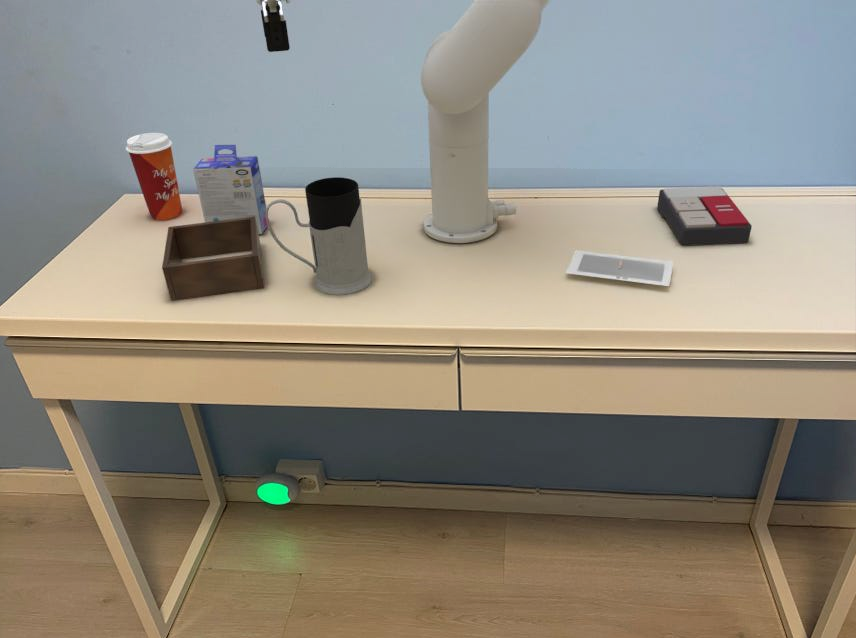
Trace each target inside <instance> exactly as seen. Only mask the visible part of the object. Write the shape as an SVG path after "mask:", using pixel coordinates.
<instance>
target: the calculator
mask: <svg viewBox="0 0 856 638" xmlns="http://www.w3.org/2000/svg"><path fill="white" fill-rule="evenodd" d="M657 200H658V201H657V206H656V209H657V211H658V212H659V214H660V216H661V218H664V219H665V220H666V223H667V224H668V226H669V227H670V229H671V231H672V232H673V234H674V236H675V237H676V239H677V241H678V242H679V244H680V245H681V246H684V247H685V246H707V245H727V244H728V245H729V244H730V245H732V244H747V243H749V240H750V236H751V232H752V227H753V226H752V225H751V223H750V222H749V220H748V219H747V218H746V216H745V215H744V213H743V212H742V211H741V210H740V209H739V207H738V206H737V205H736V203H735V202H734V201H733V199H732V198H731V196H729V195H728V193H727V192H726V191H725V190H724V189H723V188H722V187H721V186H717V185H715V186H693V187H671V188H670V187H669V188H663V189H660V190H659V193H658V199H657Z"/></svg>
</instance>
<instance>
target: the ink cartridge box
mask: <svg viewBox="0 0 856 638" xmlns="http://www.w3.org/2000/svg"><path fill="white" fill-rule="evenodd" d="M222 150H229V151H231V152H232V153H219V151H222ZM213 154H214V155H213V157H212V158H209V157H208V158H201V159H200V160H199V161H198V162H197V164H196V165H195V166H194V167H193V169H192V170H193V174H194V175H193V176H194V179H195V183H196V188H197V193H198V198H199V201H200V206H201V210H202V215H203V219H204V223H205V222H213V221H222V220H230V219H238V218H246V217H254V216H255V219H256V224H257V229H258V234H259V235H263V234H264V232H265V230H266V229H267V228H268V226H267V222H266V209H267V203H266V197H265V192H264V186H263V179H262V175H261V169H260V164H259V157H258V156H257V155H251V156H250V155H249V156H238V155H237V145H236V144H215V145H214V153H213Z"/></svg>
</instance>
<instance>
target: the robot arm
mask: <svg viewBox="0 0 856 638" xmlns="http://www.w3.org/2000/svg"><path fill="white" fill-rule="evenodd" d="M255 1H256V3H257V4H258V5H259V6H261V9H260V15H261V21H262V27H263V33H264V37H265V42H266V49H267V52H269V53H273V52H274V53H275V52H286V51H290V50H291V49H290V48H291V47H290V40H289V34H288V26H287V20H286V19H285V16H284V10H283V3H282V2H283V1H282V0H255ZM291 1H292V0H285V3H286V4H288V5H289V4H290V3H291ZM550 2H551V0H473V1H472V2H471V4H470V6H469V7H468V8H467V9H466V10H465V12H464V13H463V14H462V15H461V16H460V18H459V19H458V21H457V22H456V23H455V24H454V26H453V27H452V28H451V29H447V30H445V31H443V32H442V33H440V34H439V35H438V36H436V37H435V38H434V40H433V41H432V43H431V44H430V45H429V47H428V49H427V52H426V55H425V58H424V61H423V64H422V69H421V73H420V84H421V90H422V92H423V95H424V97H425V99H426V100H427V110H428V111H427V118H428V120H427V121H428V148H429V170H430V171H429V172H430V173H429V174H430V196H431V213H430V214H429V215H428V216H427V217H426V218H425V219H424V221H423V230H424V233H425V234H426V236H428V237H429V238H432V239H433V240H437V241H439V242H444V243H450V244H467V243H475V242H478V241H482V240H485V239H487V238H489V237H491V236H492V235H494V233H496V231H497V230H498V220H497V219H499V217H500V216H501V217H502V216H512V215H516V214H517V206H516V203H515V202H511V203H505V200H504V199H498V200H495V201H491V200H490V199H489V136H490V135H489V132H490V130H489V125H490V123H489V120H490V119H489V117H490V115H489V113H490V112H489V111H490V110H489V109H490V108H489V107H490V106H489V103H490V100H489V99H490V96H489V95H490V92H491V91H492V90H493V89H494V88H495V86H496V85H497V84H498V83H499V82H500V81H501V80H502V79H503V78H504V76H506V75H507V73H508V72H509V71H510V70H511V69H512V68H513V66H514V65H515V64H516V63H517V62H518V61H519V60H520V58H521V57H522V56H523V55H524V54H525V52H526V51H527V50H528V49H529V47H530V46H531V44H532V43H533V42H534V40H535V38H536V37H537V34H538V32H539V30H540V28H541V23H542V15H543V11H544V10H545V8H546V7H547V6H548V4H549V3H550Z"/></svg>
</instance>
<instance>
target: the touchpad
mask: <svg viewBox="0 0 856 638" xmlns="http://www.w3.org/2000/svg"><path fill="white" fill-rule="evenodd" d="M674 263H675V262H674V261H670V260H663V259H661V260H660V259H653V258H644V257H636V256H628V255H619V254H610V253H603V252H593V251H583V250H577V249H576V250H575V251H574V253H573V255H572V257H571V260H570V263H569V265H568V267H567V270H566V272H565V274H570V275H577V276H585V277H593V278H601V279H608V280H617V281H624V282H631V283H633V282H634V283H638V284H639V283H641V284H647V285H655V286H663V287H670V283H671V278H672V273H673V267H674Z"/></svg>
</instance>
